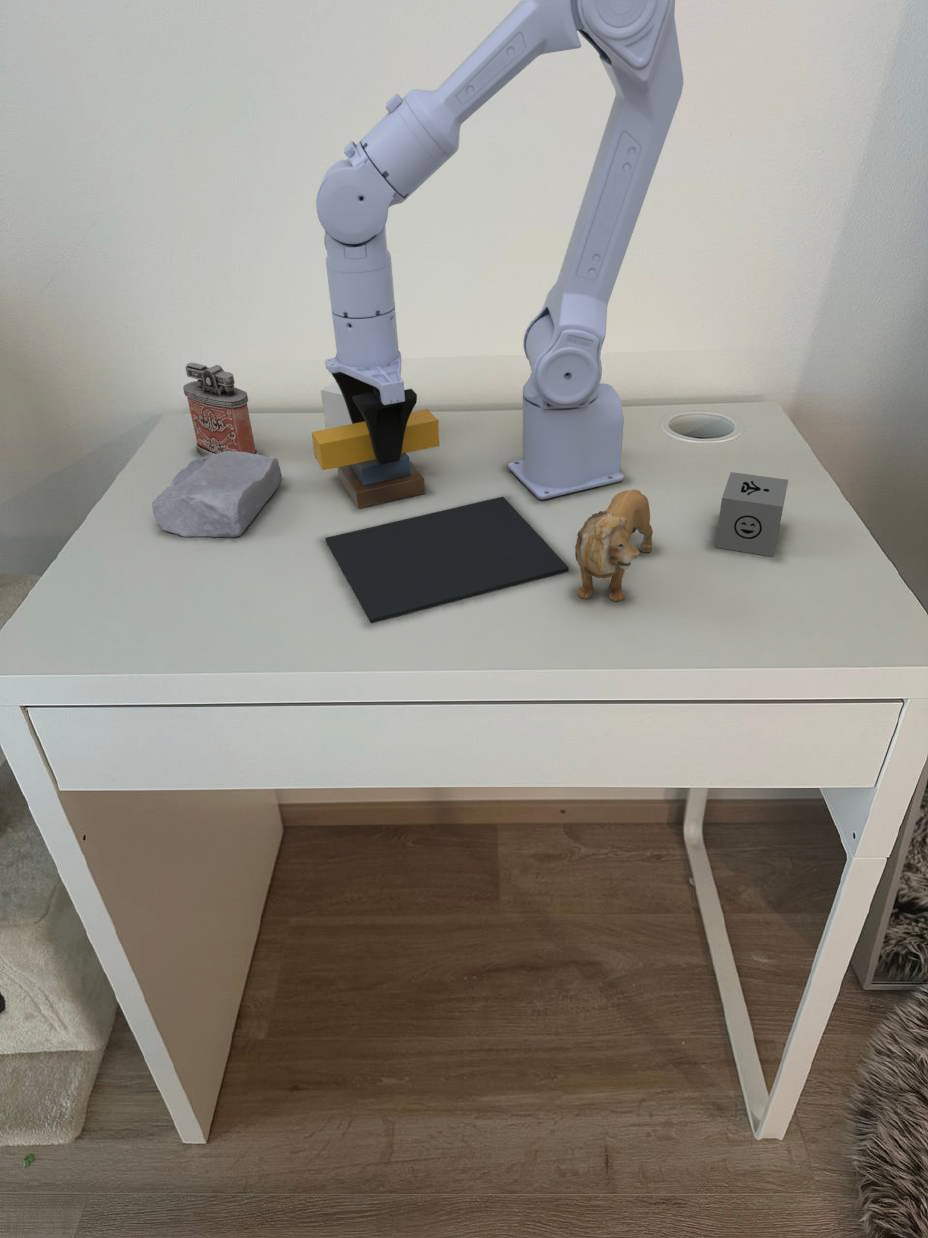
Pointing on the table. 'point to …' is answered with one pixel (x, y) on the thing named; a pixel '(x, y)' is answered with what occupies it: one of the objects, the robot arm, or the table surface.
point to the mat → (442, 558)
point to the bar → (356, 444)
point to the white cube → (334, 407)
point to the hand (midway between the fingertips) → (377, 446)
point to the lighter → (218, 411)
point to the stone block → (217, 494)
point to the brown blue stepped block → (381, 481)
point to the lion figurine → (612, 542)
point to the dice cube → (751, 513)
